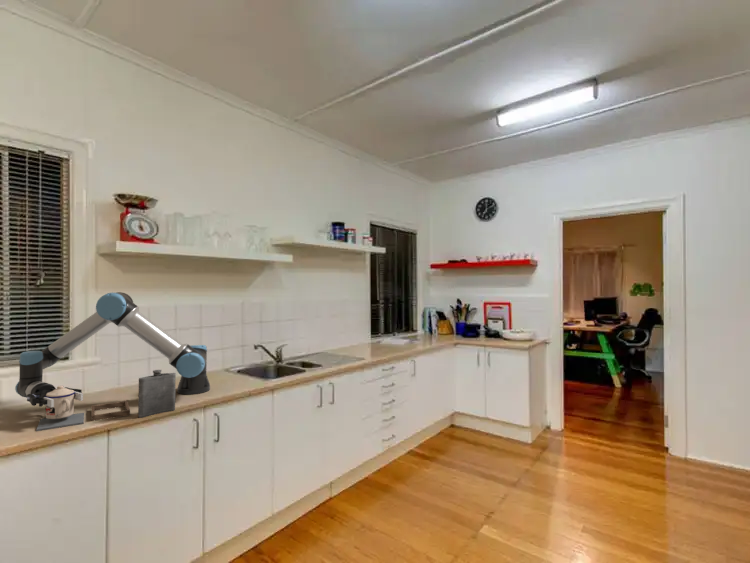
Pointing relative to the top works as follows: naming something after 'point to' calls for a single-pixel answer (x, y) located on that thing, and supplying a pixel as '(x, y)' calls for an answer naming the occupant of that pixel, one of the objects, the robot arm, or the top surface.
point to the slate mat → (61, 422)
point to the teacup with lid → (60, 403)
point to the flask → (156, 394)
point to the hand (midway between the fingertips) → (67, 400)
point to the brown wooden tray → (112, 414)
